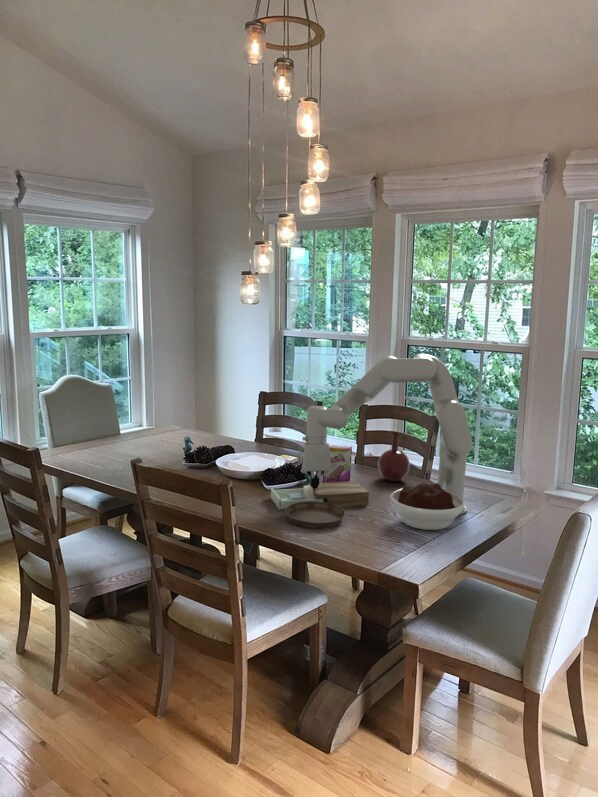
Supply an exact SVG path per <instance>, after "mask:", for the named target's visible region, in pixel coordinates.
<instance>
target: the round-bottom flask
mask: <svg viewBox="0 0 598 797" xmlns="http://www.w3.org/2000/svg"><path fill="white" fill-rule="evenodd" d="M399 436H400V433H397V432H394V433H392V432H391V448H390V449H389V450H385V451H384V452H383V453H382V454H381V455H380V457H379V458H378V461H377V468H378V469H377V470H378V472H379V474H380V475H381V477H383V478H384V479H385V480H388V481H391V482H398V481H401V480H403V479H404V478H405V477H407V475H408V474H409V471H410V466H411V464H410V463H411V462H410V460H409V457H408V456H407V455H406V453H404V452H403V451H401V450H400V449H399V438H400V437H399Z"/></svg>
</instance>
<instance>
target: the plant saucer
mask: <svg viewBox="0 0 598 797" xmlns="http://www.w3.org/2000/svg"><path fill="white" fill-rule="evenodd" d="M285 513H286V515H287V516H288V518H289V519H290V520H291V522H293V523H295V524H296V525H298V524H299V525H298V526H301V527H305V526H306V528H311V527H312V528H311V529H323V528H324V529H325V528H330V527H333V526H336V525H338V524H339V523H340V522H341V521H343V519H344V518H345V516H346V511H345V509H343V508H342V507H338V506H336V505H333V504H329V503H324V502H299V503H295V504H292V505H290V506H288V507H287V508H286V510H285Z"/></svg>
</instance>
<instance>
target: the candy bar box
mask: <svg viewBox="0 0 598 797" xmlns="http://www.w3.org/2000/svg"><path fill="white" fill-rule="evenodd" d="M329 449H330V469H329V472H326V473H323V474H322V483H329V482H349V481H351V476H352V474H351V472H352V458H353V446H352V445H341V444H340V445H339V444H329Z"/></svg>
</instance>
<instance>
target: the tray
mask: <svg viewBox="0 0 598 797" xmlns="http://www.w3.org/2000/svg"><path fill="white" fill-rule="evenodd" d="M292 493H301V494H302V495H303V496H304V490H303V487H302V488H287V489H286V488H285V489H284V488H283V489H274V488H273V487H271V488H270V500H271V501H272V502H273V503H275V504H274V505H275V506H276V508H277V507H278V508H277V509H278V510H279V511H283V510H284V509H285V510H284V511H286V508H287V507H288V506H290V505H292V504H295V503H299V502H323V501H324V499H317V498H316V497H315V496H314V499H303V500H288V494H292Z"/></svg>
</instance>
